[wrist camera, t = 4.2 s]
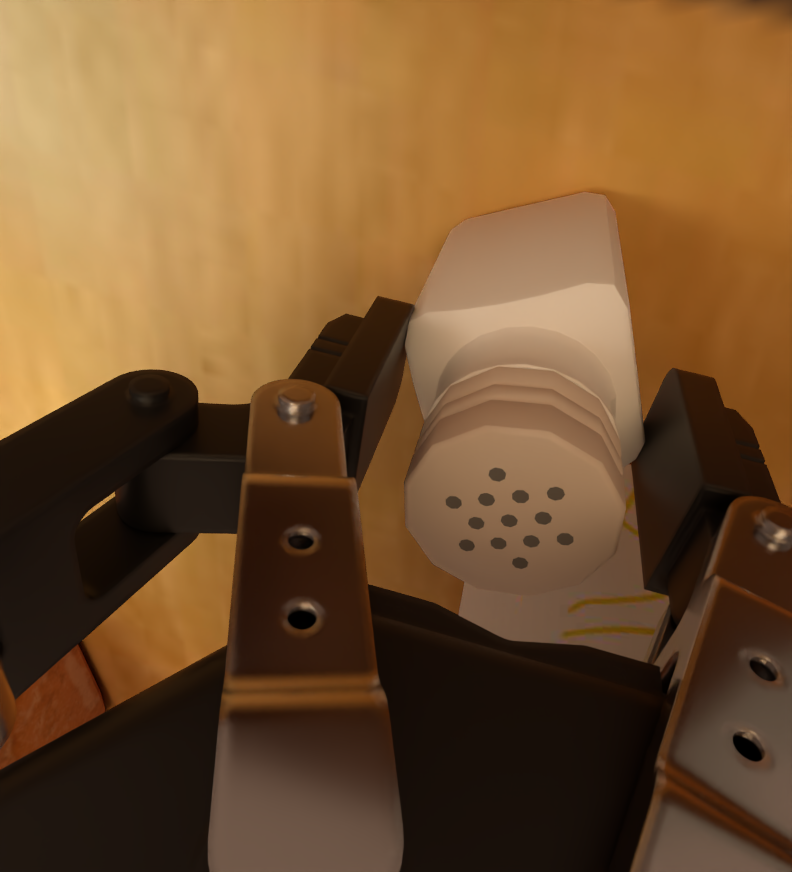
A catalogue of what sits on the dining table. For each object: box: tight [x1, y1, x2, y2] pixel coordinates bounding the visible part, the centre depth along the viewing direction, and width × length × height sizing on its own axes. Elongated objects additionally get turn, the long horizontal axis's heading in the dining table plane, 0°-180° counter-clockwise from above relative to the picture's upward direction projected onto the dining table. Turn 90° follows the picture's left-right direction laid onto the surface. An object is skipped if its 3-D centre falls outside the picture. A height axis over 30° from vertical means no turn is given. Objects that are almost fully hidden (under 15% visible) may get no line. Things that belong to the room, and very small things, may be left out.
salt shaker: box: [404, 192, 645, 596], centre depth 13 cm, size 4×4×10 cm
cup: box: [459, 464, 669, 662], centre depth 17 cm, size 8×8×12 cm
